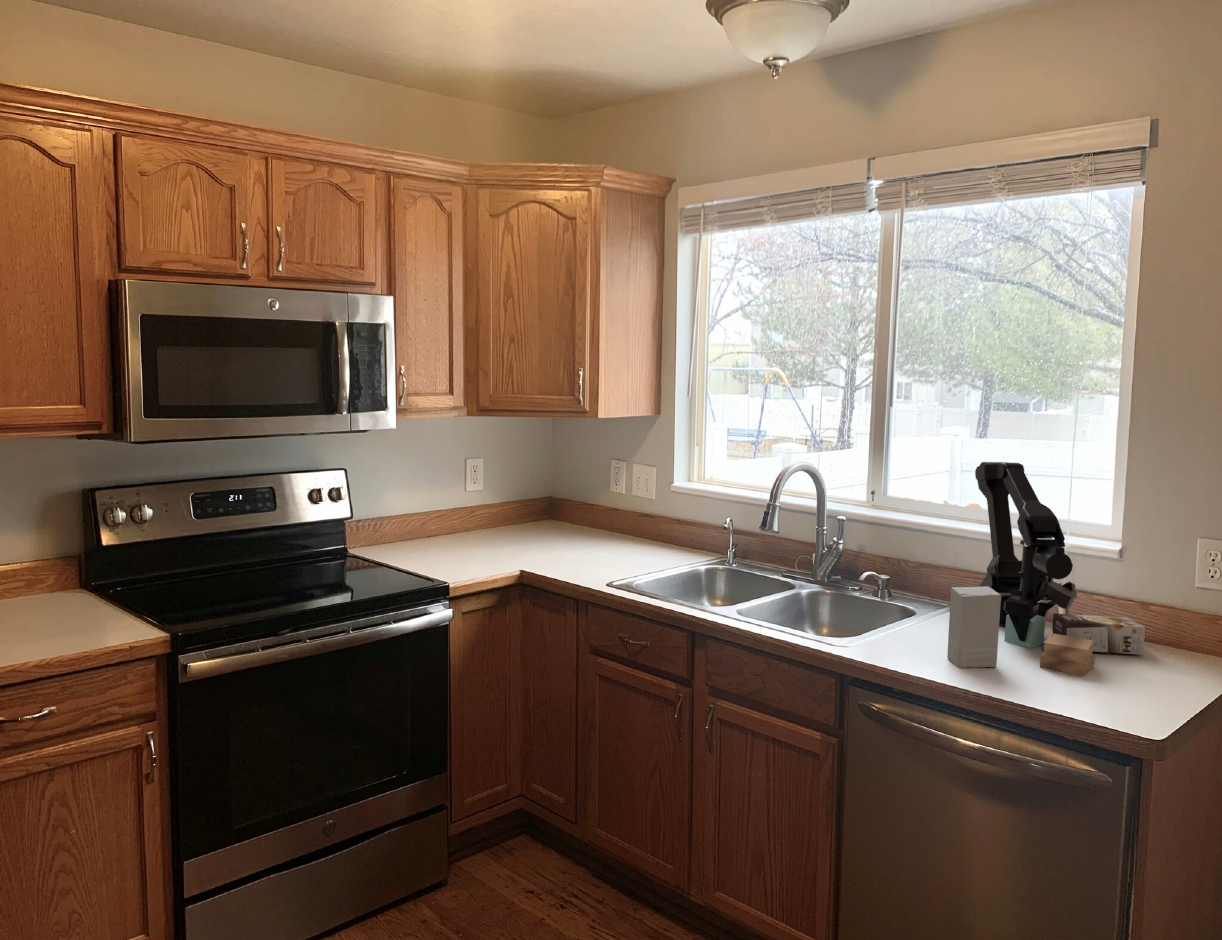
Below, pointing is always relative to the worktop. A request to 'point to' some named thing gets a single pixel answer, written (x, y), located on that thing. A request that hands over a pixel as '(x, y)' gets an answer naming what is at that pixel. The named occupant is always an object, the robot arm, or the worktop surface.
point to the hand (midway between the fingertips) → (1030, 636)
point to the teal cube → (1033, 635)
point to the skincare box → (973, 627)
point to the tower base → (1067, 666)
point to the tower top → (1068, 648)
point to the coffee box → (1103, 632)
